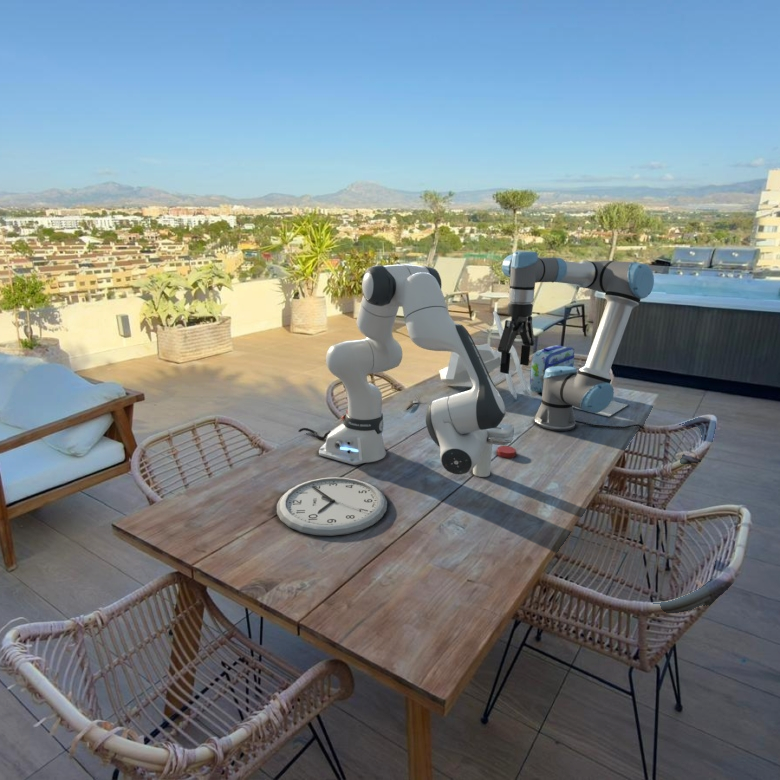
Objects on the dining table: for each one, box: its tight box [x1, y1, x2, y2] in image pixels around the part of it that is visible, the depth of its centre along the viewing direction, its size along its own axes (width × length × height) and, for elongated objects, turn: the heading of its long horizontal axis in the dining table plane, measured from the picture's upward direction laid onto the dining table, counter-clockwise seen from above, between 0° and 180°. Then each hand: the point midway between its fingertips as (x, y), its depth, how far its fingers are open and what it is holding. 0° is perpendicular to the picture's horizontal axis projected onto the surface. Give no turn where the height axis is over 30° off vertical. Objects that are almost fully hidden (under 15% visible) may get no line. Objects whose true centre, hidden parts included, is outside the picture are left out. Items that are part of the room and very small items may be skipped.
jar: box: [472, 443, 493, 478], centre depth 160 cm, size 5×5×19 cm
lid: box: [496, 445, 517, 459], centre depth 177 cm, size 6×6×2 cm
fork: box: [406, 394, 421, 411], centre depth 223 cm, size 3×16×2 cm, turn 160°
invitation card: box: [573, 400, 629, 418], centre depth 226 cm, size 21×1×15 cm
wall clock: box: [276, 476, 388, 537], centre depth 142 cm, size 30×2×30 cm
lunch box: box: [529, 345, 575, 394], centre depth 245 cm, size 26×11×21 cm, turn 134°
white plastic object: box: [438, 310, 531, 400], centre depth 245 cm, size 37×45×31 cm
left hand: (479, 419), depth 145 cm, fingers open, 8 cm apart
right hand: (514, 368), depth 168 cm, fingers open, 13 cm apart
